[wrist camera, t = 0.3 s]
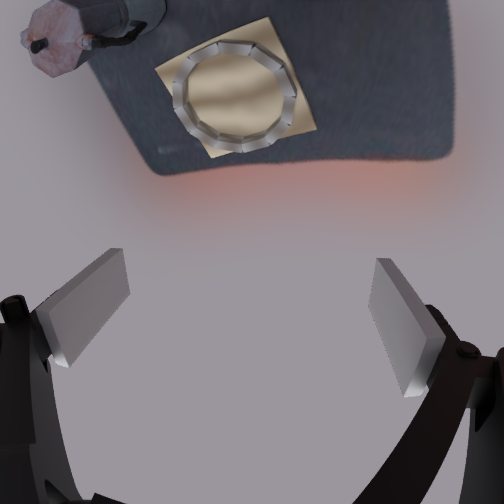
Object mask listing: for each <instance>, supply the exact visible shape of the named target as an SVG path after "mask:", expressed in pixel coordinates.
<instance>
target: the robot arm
mask: <svg viewBox="0 0 504 504" xmlns="http://www.w3.org/2000/svg"><path fill="white" fill-rule="evenodd" d="M129 295H130V290H129V285H128V279H127V273H126V267H125V262H124V255H123V249H120V248H110V249H109V250H108V251H106V252H105V253H104V254H103V255H101V256H100V257H99V258H97V259H96V260H95V261H93V262H92V263H91V264H90V265H88V266H87V267H86V268H85V269H84V270H82V271H81V272H80V273H78V274H77V275H76V276H75V277H74V278H72V279H71V280H70V281H69V282H67V283H66V284H65V285H64V286H62V287H61V288H60V289H59V290H57V291H55V292H54V293H53V294H52V295H50V297H48V298H47V299H46V300H45V302H42V303H41V304H40V305H39V306H38V307H36V308H35V309H34V310H33V311H32V312H31V313H29V310H28V307H27V304H26V301H25V298H24V296H22V295H13V296H10V297H8V298H6V299H4V300H3V301H2V302H0V311H1V313H2V316H3V319H4V321H5V323H0V504H125V503H122V502H119V501H116V500H113V499H110V498H108V497H105V496H102V495H100V494H97V493H94V496H93V498H92V500H83V499H82V497H81V496H80V494H79V493H78V491H77V488H76V486H75V483H74V479H73V476H72V473H71V469H70V466H69V462H68V458H67V455H66V451H65V447H64V443H63V438H62V434H61V429H60V424H59V420H58V414H57V409H56V403H55V397H54V390H53V383H52V375H51V367H50V363H49V361H48V359H47V358H48V357H49V356H50V355H51V354H52V355H53V357H54V360H55V362H56V364H58V365H61V366H64V367H68V368H70V367H71V365H72V364H73V363H74V361H75V360H76V359H77V358H78V356H79V355H80V354H81V352H82V351H83V350H84V349H85V347H86V346H87V345H88V344H89V342H90V341H91V340H92V339H93V338H94V336H95V335H96V334H97V333H98V332H99V330H100V329H101V328H102V327H103V325H104V324H105V323H106V322H107V321H108V319H109V318H110V317H111V316H112V315H113V314H114V312H115V311H116V310H117V309H118V308H119V306H120V305H121V304H122V303H123V302H124V300H125V299H126V298H127V297H128V296H129ZM368 307H369V310H370V312H371V314H372V317H373V319H374V321H375V324H376V326H377V329H378V331H379V334H380V336H381V338H382V341H383V344H384V346H385V349H386V351H387V354H388V357H389V359H390V362H391V364H392V367H393V370H394V372H395V375H396V378H397V381H398V383H399V386H400V389H401V392H402V394H403V397H411V396H420V395H422V393H423V391H424V388H425V386H426V384H427V386H428V388H429V392H428V393H427V396H426V397H425V399H424V401H423V403H422V404H421V406H420V408H419V410H418V411H417V413H416V415H415V417H414V418H413V420H412V422H411V424H410V425H409V427H408V428H407V430H406V431H405V433H404V435H403V436H402V438H401V439H400V441H399V442H398V444H397V446H396V447H395V448H394V450H393V451H392V453H391V454H390V456H389V457H388V458H387V460H386V461H385V463H384V464H383V465H382V467H381V468H380V470H379V471H378V472H377V474H376V475H375V477H374V478H373V479H372V480H371V482H370V483H369V484H368V485H367V487H366V488H365V489H364V490H363V492H362V493H361V494H360V495H359V497H358V498H357V499H356V500H355V501H354V502H353V503H352V504H420V503H421V502H422V500H423V498H424V497H425V495H426V493H427V491H428V490H429V488H430V486H431V484H432V482H433V480H434V479H435V477H436V475H437V473H438V471H439V469H440V467H441V465H442V463H443V461H444V459H445V457H446V455H447V452H448V450H449V448H450V446H451V444H452V441H453V439H454V436H455V434H456V432H457V429H458V427H459V424H460V422H461V419H462V417H463V414H464V411H465V409H466V408H470V428H469V439H468V449H467V458H466V466H465V472H464V478H463V485H462V490H461V495H460V500H459V504H504V347H503V348H501V349H500V350H499V351H498V353H497V355H496V357H487V356H481V353H480V350H479V349H478V348H477V347H476V346H475V345H473V344H471V343H469V342H466V341H460V339H459V338H458V336H457V335H456V333H455V332H454V331H453V329H452V328H451V326H450V325H448V322H447V321H446V319H444V317H443V315H442V314H441V312H440V311H439V310H438V309H436V308H435V307H433V306H432V305H424V303H423V302H422V301H421V299H420V298H419V296H418V295H417V293H416V292H415V291H414V289H413V288H412V287H411V285H410V284H409V282H408V281H407V280H406V278H405V277H404V276H403V274H402V273H401V272H400V270H399V269H398V268H397V266H396V265H395V264H394V262H393V261H392V260H391V259H389V258H388V259H387V258H377V259H376V266H375V272H374V277H373V283H372V289H371V294H370V299H369V304H368Z"/></svg>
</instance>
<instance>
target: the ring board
mask: <svg viewBox="0 0 504 504" xmlns="http://www.w3.org/2000/svg"><path fill="white" fill-rule="evenodd" d="M155 70H156V71H157V73H158V75H159V76H160V78H161V79H162V81H163V82H164V84H165V85H166V87H167V89H168V90H169V92H170V93H171V95H172V96H173V108H175V109H174V111H175V112H176V114H177V115H178V117H179V118H180V120H181V122H182V123H183V125H184V126H185V128H186V129H187V131H188V132H189V131H191V130H192V131H191V132H190V134H191V135H193V136H195V137H196V138H198V139H199V140H200V141H201V142H202V144H203V146H204V147H205V149H206V150H207V152H208V154H209V155H210V157H211V158H214V157H217V156H220V155H224V154H227V153H230V152H239V153H242V151H243V152H244V153H245V152H249V151H252V150H256V149H260V148H263V147H267V146H270V144H271V145H272V144H273V143H274V142H275V141H276V140H277V139H280V138H284V137H288V136H292V135H296V134H300V133H304V132H308V131H312V130H317V124H316V122H315V119H314V117H313V114H312V111H311V109H310V106H309V104H308V101H307V99H306V96H305V94H304V92H303V89H302V87H301V84H300V82H299V80H298V77H297V75H296V73H295V70H294V68H293V66H292V63H291V61H290V59H289V57H288V55H287V52H286V50H285V48H284V46H283V44H282V42H281V39H280V37H279V35H278V33H277V31H276V29H275V27H274V25H273V23H272V21H271V19H270V17H269V16H268V17H265V18H262V19H259V20H257V21H254V22H251V23H249V24H246V25H243V26H241V27H238V28H236V29H234V30H231V31H229V32H226V33H224V34H222V35H219V36H217V37H215V38H213V39H210V40H208V41H206V42H204V43H202V44H200V45H198V46H196V47H194V48H192V49H190V50H188V51H186V52H184V53H182V54H180V55H178V56H176V57H174V58H172V59H170V60H168V61H167V62H165V63H163V64H161V65H159V66H158V67H156V68H155Z"/></svg>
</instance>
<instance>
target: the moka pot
mask: <svg viewBox="0 0 504 504" xmlns="http://www.w3.org/2000/svg"><path fill="white" fill-rule="evenodd" d="M165 12H166V4H165V0H51V1H50V2H48V3H46V4H45V5H43V6H42V7H40V8H38V9H36V10H35V11H34V12H33V14H32V17H31V20H30V23H29V26H28V28H27V29H26V30H24V31H22V32H21V33H20V36H21V44H22V45H23V46H24V47H25V48H27V49H28V51H29V54H30V57H31V60H32V63H33V65H34V66H35V67H37V68H38V69H40V70H42V71H43V72H45V73H46V74H47V75H49V76H50V77H53V78H54V77H57V76H59V75H62V74H64V73H67V72H70V71H73V70H75V69H77V68H78V67H79V66H80V65H82V64H83V63H84V62H86V61H87V60H88V59H90V58H91V57H93V56H94V55H95V54H97V53H98V52H100V51H101V50H103V49H104V48H106V47H108V46H121V45H126V44H130V43H131V42H132V41H134V40H135V39H136V37H137V36H139V35H143V34H145V33H147V32H149V31H151V30H152V29H154V28H155V27H157V26H158V24H159V23H160V21H161V19H162V18H163V16H164V13H165Z"/></svg>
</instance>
